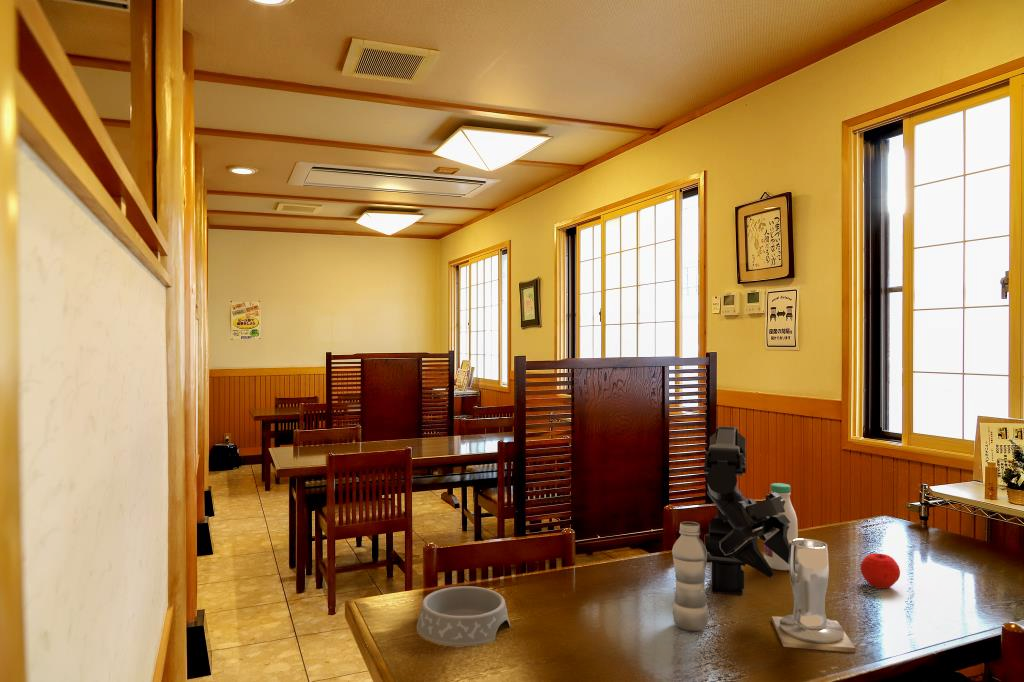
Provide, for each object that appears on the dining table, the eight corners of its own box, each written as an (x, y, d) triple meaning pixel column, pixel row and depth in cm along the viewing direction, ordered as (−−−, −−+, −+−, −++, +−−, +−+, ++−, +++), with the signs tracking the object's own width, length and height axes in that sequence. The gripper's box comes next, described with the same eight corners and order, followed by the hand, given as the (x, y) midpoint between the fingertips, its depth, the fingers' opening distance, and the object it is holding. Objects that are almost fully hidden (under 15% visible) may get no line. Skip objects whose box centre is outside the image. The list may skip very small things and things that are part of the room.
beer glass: (834, 631, 125) (832, 549, 125) (793, 629, 126) (792, 547, 127) (824, 617, 132) (823, 539, 132) (786, 614, 133) (785, 537, 134)
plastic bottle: (703, 638, 127) (702, 530, 127) (667, 630, 130) (667, 525, 130) (712, 626, 132) (712, 522, 132) (678, 618, 136) (678, 518, 136)
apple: (883, 595, 148) (883, 561, 148) (851, 583, 155) (851, 551, 155) (908, 590, 151) (908, 556, 151) (876, 579, 159) (876, 547, 159)
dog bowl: (522, 617, 137) (522, 590, 137) (481, 655, 121) (481, 625, 121) (448, 604, 144) (448, 578, 144) (399, 638, 128) (399, 610, 128)
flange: (786, 641, 124) (786, 635, 124) (774, 617, 134) (774, 611, 134) (851, 646, 122) (851, 640, 122) (834, 621, 132) (834, 616, 132)
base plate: (783, 646, 123) (783, 642, 123) (771, 620, 135) (771, 616, 135) (855, 652, 121) (855, 647, 121) (837, 625, 133) (837, 620, 133)
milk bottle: (800, 564, 169) (800, 483, 169) (794, 573, 163) (794, 489, 163) (767, 559, 173) (767, 480, 173) (760, 567, 167) (760, 485, 167)
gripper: (733, 487, 131) (789, 558, 122) (781, 474, 143) (834, 538, 135) (697, 520, 136) (748, 590, 128) (746, 505, 149) (795, 568, 141)
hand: (784, 571), depth 133 cm, fingers open, 9 cm apart
